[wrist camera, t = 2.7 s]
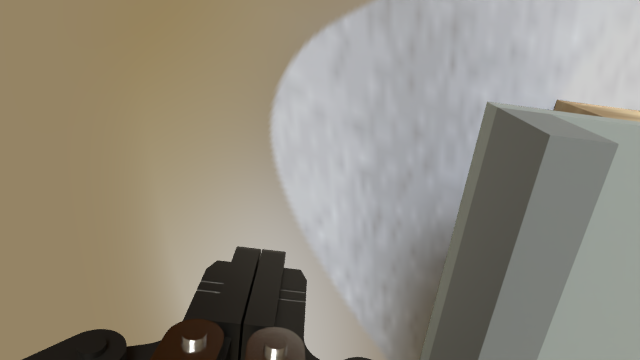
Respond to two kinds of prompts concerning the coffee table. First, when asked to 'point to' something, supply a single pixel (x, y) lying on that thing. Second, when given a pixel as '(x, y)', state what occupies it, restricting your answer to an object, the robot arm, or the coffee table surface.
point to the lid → (544, 242)
